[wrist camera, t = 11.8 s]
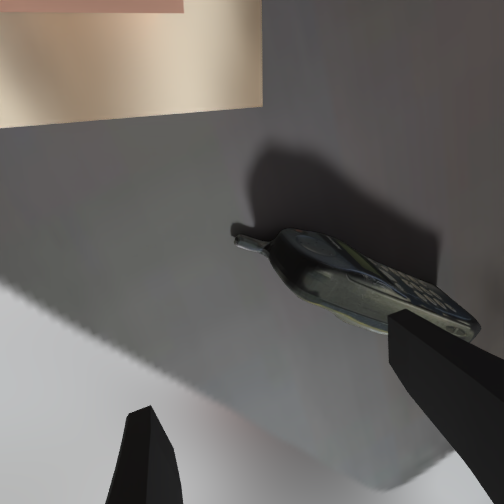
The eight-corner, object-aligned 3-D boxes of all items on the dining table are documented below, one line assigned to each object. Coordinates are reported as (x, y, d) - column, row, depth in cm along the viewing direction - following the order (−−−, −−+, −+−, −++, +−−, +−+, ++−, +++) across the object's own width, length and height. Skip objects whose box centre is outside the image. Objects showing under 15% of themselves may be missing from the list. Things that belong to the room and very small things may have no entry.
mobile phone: (497, 325, 24) (291, 248, 17) (464, 364, 25) (256, 308, 18) (438, 278, 28) (252, 200, 21) (412, 313, 29) (225, 251, 22)
